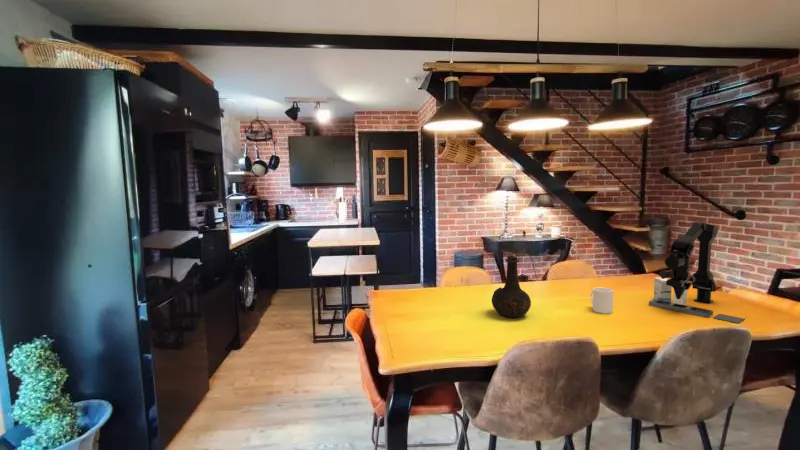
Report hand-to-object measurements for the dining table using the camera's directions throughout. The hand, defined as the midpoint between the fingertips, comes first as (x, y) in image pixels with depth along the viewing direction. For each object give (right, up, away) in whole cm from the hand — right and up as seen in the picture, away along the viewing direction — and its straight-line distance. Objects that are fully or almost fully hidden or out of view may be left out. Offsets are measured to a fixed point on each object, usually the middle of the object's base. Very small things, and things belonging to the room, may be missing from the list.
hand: (680, 298), depth 184 cm
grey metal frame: (0, -6, +1) cm, 6 cm away
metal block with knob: (0, -2, 0) cm, 2 cm away
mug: (-38, -6, +2) cm, 38 cm away
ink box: (+2, -5, +15) cm, 16 cm away
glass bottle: (-82, -8, -3) cm, 83 cm away
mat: (+12, -7, -13) cm, 19 cm away
